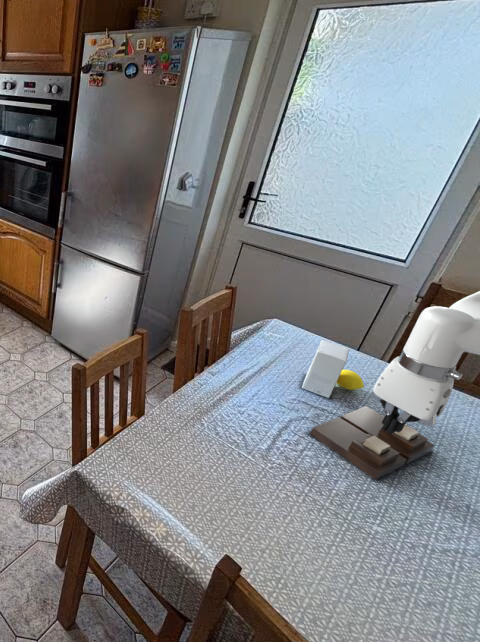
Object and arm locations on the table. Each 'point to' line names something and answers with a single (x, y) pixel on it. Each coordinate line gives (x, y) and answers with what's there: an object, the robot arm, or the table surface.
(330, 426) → the keys high
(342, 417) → the keys low
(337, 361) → the small box
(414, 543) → the table surface
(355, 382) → the lemon
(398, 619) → the table surface
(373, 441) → the key
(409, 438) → the key
